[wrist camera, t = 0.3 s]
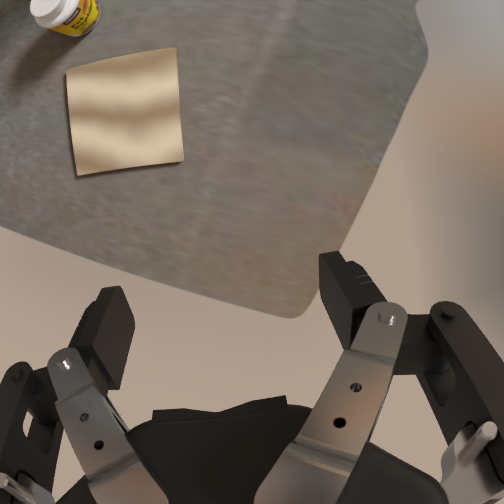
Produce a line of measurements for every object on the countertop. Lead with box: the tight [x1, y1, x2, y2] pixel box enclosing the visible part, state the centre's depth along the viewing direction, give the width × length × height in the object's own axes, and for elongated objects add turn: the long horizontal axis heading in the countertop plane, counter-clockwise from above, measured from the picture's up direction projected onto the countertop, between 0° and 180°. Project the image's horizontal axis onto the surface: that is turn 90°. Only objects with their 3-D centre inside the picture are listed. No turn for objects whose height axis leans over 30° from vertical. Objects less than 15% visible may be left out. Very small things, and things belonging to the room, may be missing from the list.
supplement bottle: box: [30, 0, 100, 37], centre depth 22 cm, size 6×6×10 cm
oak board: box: [66, 47, 184, 175], centre depth 33 cm, size 14×14×1 cm
